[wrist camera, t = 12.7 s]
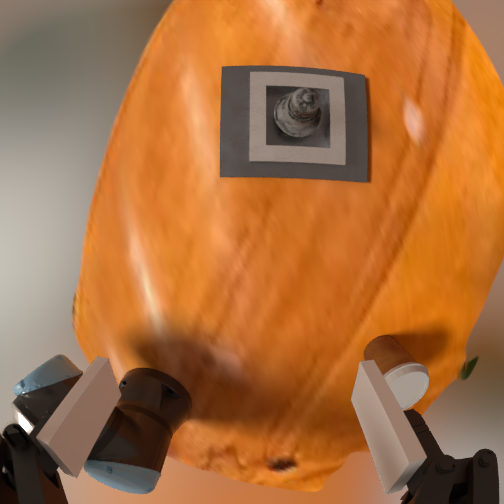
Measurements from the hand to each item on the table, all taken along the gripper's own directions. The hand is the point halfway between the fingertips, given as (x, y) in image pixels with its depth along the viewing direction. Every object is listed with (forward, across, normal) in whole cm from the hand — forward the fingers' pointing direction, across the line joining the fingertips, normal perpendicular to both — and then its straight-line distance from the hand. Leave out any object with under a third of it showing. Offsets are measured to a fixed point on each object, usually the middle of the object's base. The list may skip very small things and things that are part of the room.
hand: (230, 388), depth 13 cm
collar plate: (+27, -7, -18) cm, 33 cm away
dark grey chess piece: (+26, -7, -18) cm, 33 cm away
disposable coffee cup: (+28, -23, +18) cm, 40 cm away
